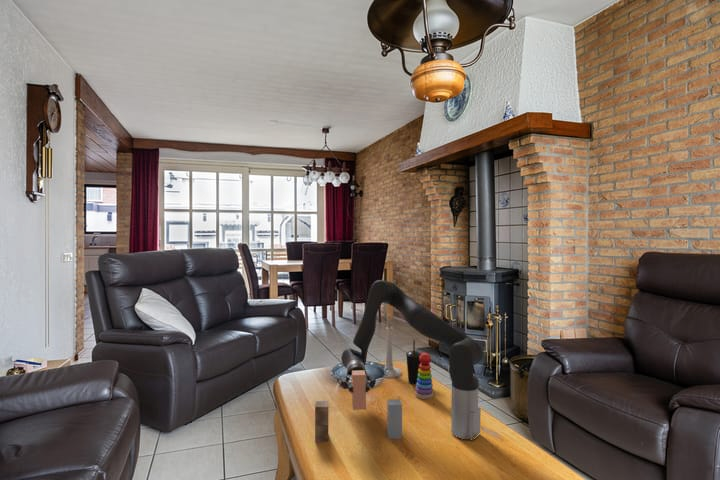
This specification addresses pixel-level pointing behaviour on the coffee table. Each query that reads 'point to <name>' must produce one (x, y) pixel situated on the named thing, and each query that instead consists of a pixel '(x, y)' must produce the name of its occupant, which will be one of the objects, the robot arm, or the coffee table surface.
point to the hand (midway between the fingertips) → (359, 389)
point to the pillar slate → (394, 418)
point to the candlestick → (390, 352)
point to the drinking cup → (413, 364)
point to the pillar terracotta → (359, 390)
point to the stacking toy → (424, 378)
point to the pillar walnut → (321, 421)
